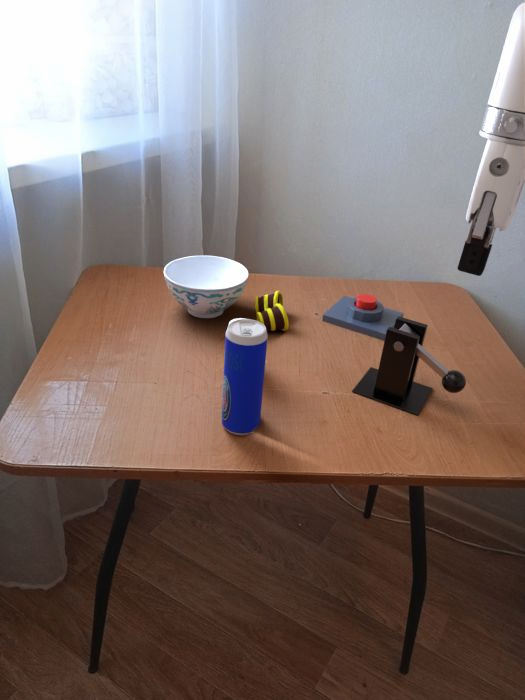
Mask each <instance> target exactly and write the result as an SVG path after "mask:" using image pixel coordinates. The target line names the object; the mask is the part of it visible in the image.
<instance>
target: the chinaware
mask: <svg viewBox="0 0 525 700" xmlns="http://www.w3.org/2000/svg"><path fill="white" fill-rule="evenodd" d="M163 275H164V281H165V284H166V286H167V289H168V291H169V293H170V294H171V296H172V298H174V300H175V301H176V302H177V303H178V304H180V305H181V306H182V307H183V308H185V309H186V311H187V312H188V314H190V315H191V316H193V317H196V318H200V319H213V318H217V317H219V316H221V315H223V313H224V311H225V310H227V309H229V308H230V307H231V306H232V305H234V304H235V303H236V302H237V301H238V300H239V299H240V297H241V296H242V294H243V292H244V290H245V288H246V286H247V283H248V279H249V270H248V269H247V268H246V267H245V266H244V265H243V264H242V263H240V262H238V261H236V260H234V259H233V260H232V259H230V258H227V257H223V256H216V255H215V256H214V255H191V256H185V257H181V258H177V259H174V260H172V261H170V262H168V263H167V264H165V266H164V269H163Z"/></svg>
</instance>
